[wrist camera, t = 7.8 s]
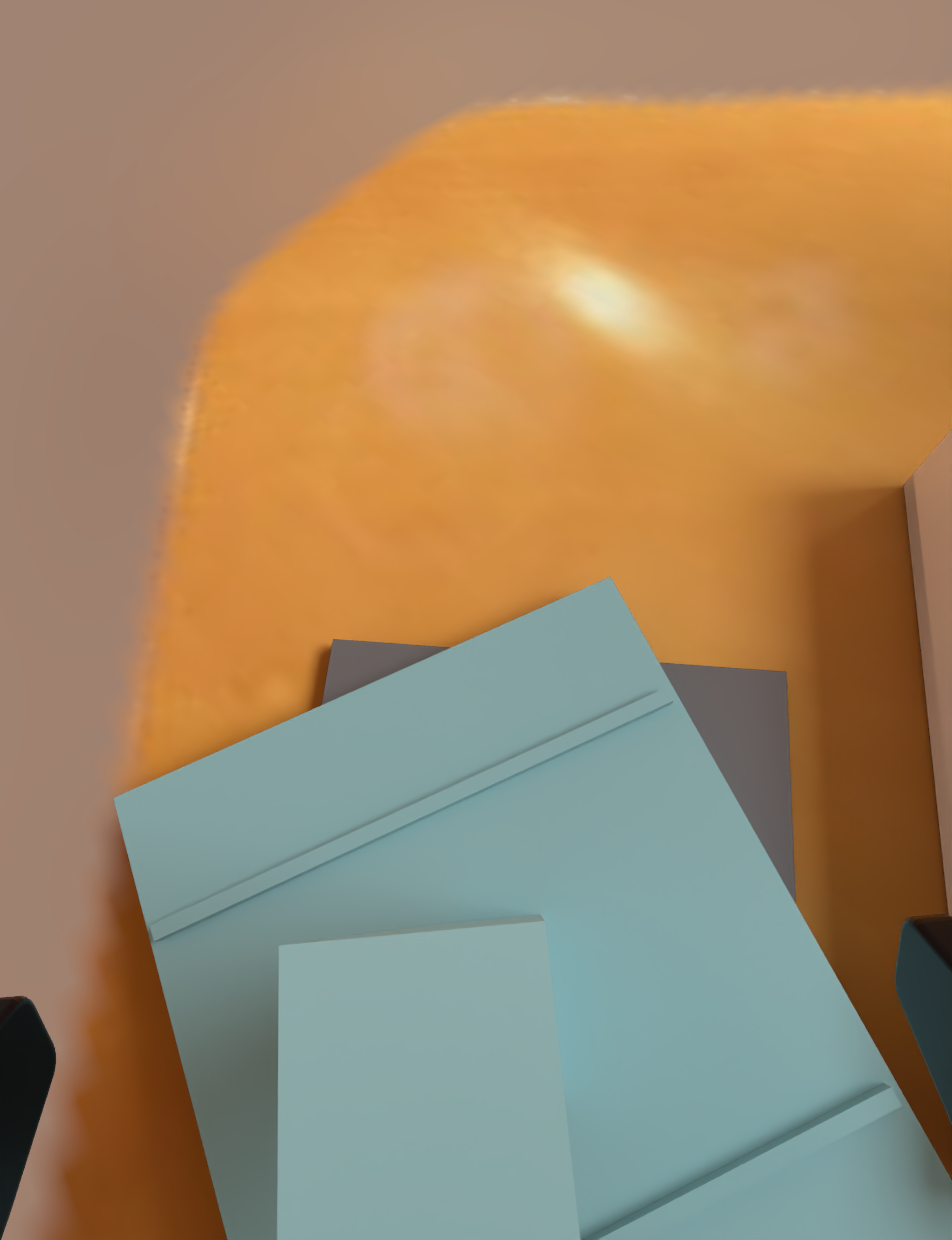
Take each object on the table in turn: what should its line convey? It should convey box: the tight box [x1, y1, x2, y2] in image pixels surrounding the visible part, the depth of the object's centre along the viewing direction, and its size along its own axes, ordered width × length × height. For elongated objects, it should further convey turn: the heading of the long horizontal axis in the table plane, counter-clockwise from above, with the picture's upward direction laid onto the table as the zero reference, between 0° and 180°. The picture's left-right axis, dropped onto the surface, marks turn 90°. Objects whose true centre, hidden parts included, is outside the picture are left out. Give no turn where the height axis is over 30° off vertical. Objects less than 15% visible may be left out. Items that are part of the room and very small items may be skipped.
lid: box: [113, 577, 952, 1240], centre depth 10 cm, size 13×11×11 cm
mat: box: [322, 639, 796, 904], centre depth 15 cm, size 14×10×1 cm
